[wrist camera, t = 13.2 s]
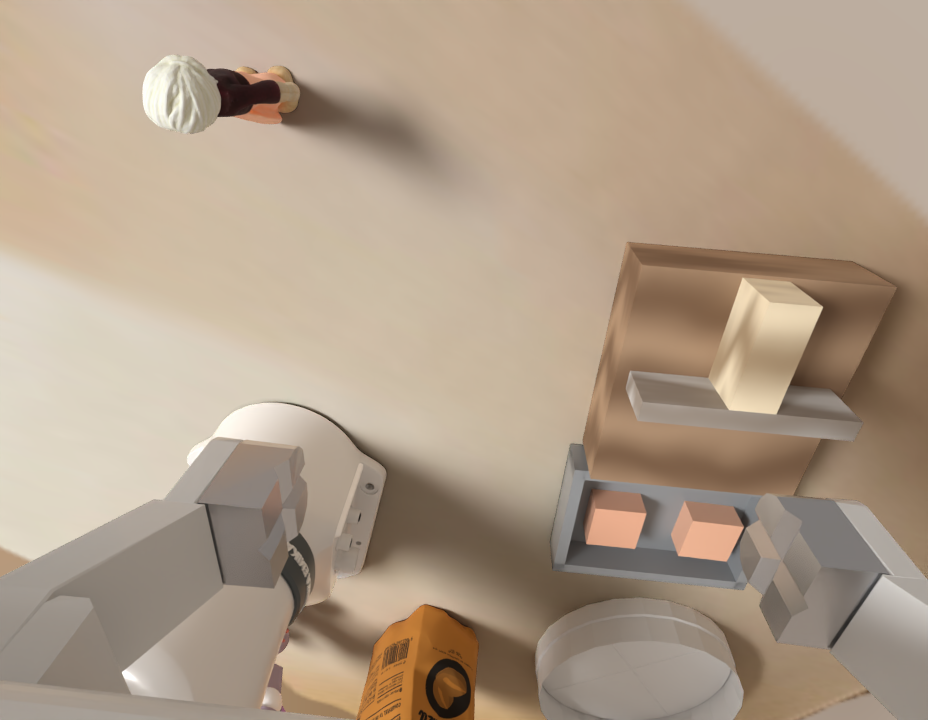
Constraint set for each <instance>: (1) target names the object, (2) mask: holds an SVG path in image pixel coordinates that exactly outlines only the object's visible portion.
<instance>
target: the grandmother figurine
mask: <svg viewBox="0 0 928 720" xmlns="http://www.w3.org/2000/svg"><path fill="white" fill-rule="evenodd" d="M299 97H300V90H299V88H298V86H297V85H296V84H295V83H293V79H292V77H291V74H290V72H289V71H288V70H287V69H286V68H285V67H282V66H273V67H271V68H270V69H269V70H268V72H266V73H258V74H257V73H256V72H255V71H254V70H253V69H251V68H248V67H239V68H238V69H237V70H236V71H231V70H228V69H207V70H206V68H205V67H204V66H203V65H202V64H201V63H200V62H198V61H197V60H195V59H194V58H192V57H189V56H180V55H168V56H166V57H165V58H163V59H162V60H161V61H160V62H159V63H158V64H157V65H156V66H154V67H153V68H152V69H151V70H149V72H148V73H147V74H146V77H145V81H144V84H143V105H144V109H145V112H146V114H147V116H148V117H149V119H150V120H152V121H153V122H154V123H155V124H156V125H158V126H159V127H161V128H164V129H168V130H170V131H176V132H180V133H190V134H193V133H198V132H202V131H204V130H205V129H206V128H207V127H208V126H210V125H211V124H213V123H214V122H215V121H216V119H217V117H230V116H233V117H237V118H240V119H244V120H248V121H253V122H257V123H262V124H277V123H280V122H281V121H282V117H281V115H280V114H279V112H281V113H289V112H292V111H294V110H295V109H296V107H297V105H298V99H299Z"/></svg>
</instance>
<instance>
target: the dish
mask: <svg viewBox="0 0 928 720" xmlns="http://www.w3.org/2000/svg"><path fill="white" fill-rule="evenodd" d="M735 667H736V665H735V662H734V659H733V656H732V653H731V650H730V648H729V645H728V643H727V640H726V637H725V635H724V633H723V632H722V630H721V629H720V628H719V627H718V626H717V625H716V624H715V623H714V622H713V621H712V620H711V619H710V618H708V617H706V616H705V615H703V614H701V613H699V612H698V611H696V610H694V609H693V608H690V607H687V606H684V605H680V604H677V603H674V602H671V601H667V600H658V599H649V598H623V599H612V600H607V601H602V602H598V603H593V604H589V605H586V606H584V607H582V608H579V609H577V610H575V611H572V612H570V613H568V614H566V615H564V616H563V617H562V618H560V619H559V620H558V621H556V622H555V623H553V624H552V625H551V626H549V628H548V629H547V630H546V632H545V633H544V634H543V636H542V637H541V638H540V640H539V641H538V645H537V649H536V653H535V668H536V677H537V682H538V695H539V702H540V707H541V711H542V713H543V714H544V716H545V717H546V719H547V720H734V718H735V716H736V715H737V713H738V712H739V710H740V709H741V707H742V701H743V694H744V691H743V688H742V685H741V682H740V679H739V677H738V674H737V672H736V669H735Z"/></svg>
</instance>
